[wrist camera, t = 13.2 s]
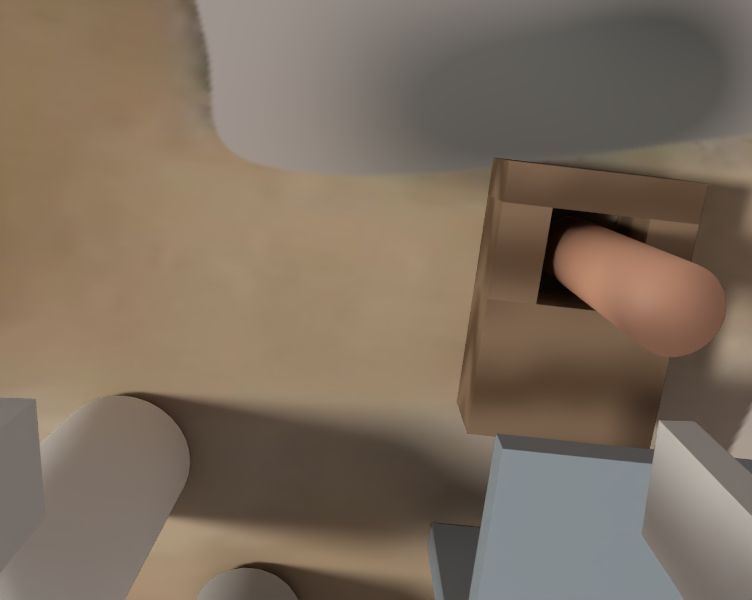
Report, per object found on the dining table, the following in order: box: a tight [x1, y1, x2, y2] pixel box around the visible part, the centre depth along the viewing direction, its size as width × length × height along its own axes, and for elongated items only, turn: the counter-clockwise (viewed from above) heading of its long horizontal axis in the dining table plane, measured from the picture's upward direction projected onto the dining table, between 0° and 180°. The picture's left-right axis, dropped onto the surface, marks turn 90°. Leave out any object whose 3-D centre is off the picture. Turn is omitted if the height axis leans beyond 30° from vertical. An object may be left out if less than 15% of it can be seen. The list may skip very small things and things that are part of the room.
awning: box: [428, 433, 752, 600], centre depth 40 cm, size 16×12×16 cm
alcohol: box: [0, 396, 190, 600], centre depth 32 cm, size 9×9×30 cm
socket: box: [457, 158, 708, 449], centre depth 42 cm, size 16×11×5 cm
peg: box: [542, 216, 726, 357], centre depth 36 cm, size 4×4×16 cm
